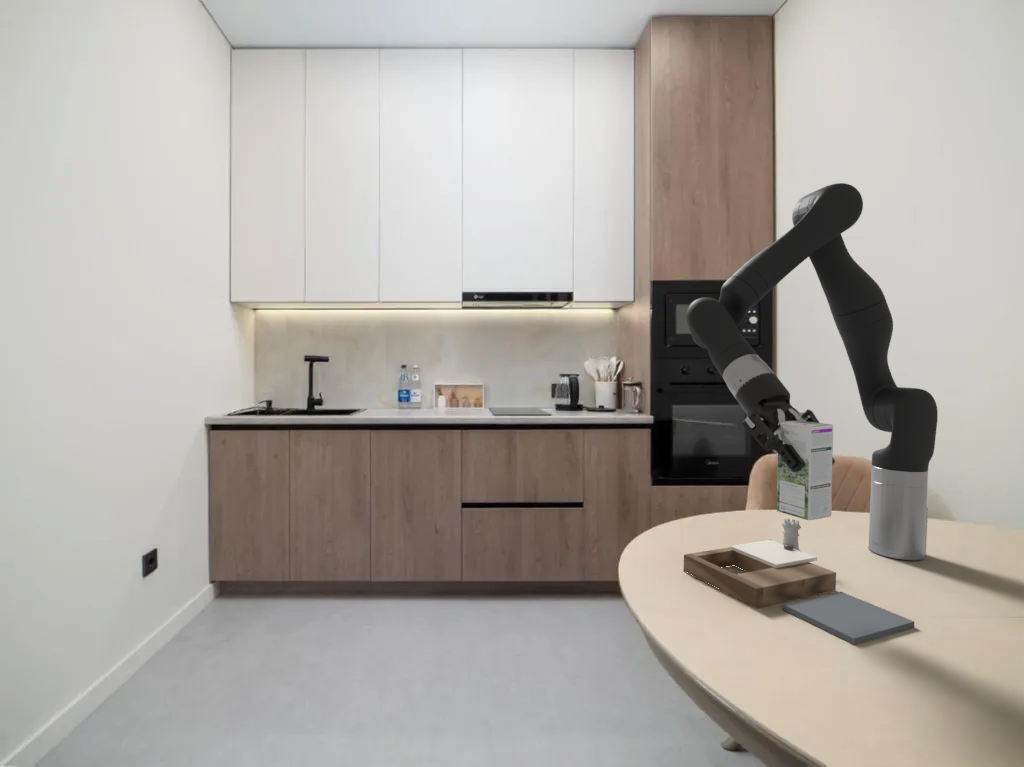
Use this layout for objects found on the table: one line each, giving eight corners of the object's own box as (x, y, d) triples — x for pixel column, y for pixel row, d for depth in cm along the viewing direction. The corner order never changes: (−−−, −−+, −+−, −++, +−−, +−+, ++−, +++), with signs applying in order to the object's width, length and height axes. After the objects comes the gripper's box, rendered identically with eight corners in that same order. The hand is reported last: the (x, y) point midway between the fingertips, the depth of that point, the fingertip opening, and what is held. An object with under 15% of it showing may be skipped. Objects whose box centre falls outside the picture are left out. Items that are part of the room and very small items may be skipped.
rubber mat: (840, 596, 88) (841, 591, 88) (914, 627, 78) (914, 621, 78) (783, 609, 83) (783, 604, 83) (853, 644, 73) (854, 638, 73)
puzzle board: (757, 558, 105) (757, 542, 105) (835, 590, 91) (836, 572, 90) (683, 571, 98) (684, 554, 98) (755, 608, 83) (756, 588, 83)
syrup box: (833, 516, 84) (835, 423, 84) (807, 521, 82) (809, 425, 81) (799, 507, 90) (802, 419, 89) (774, 511, 87) (776, 421, 86)
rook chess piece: (806, 568, 101) (808, 525, 100) (780, 565, 101) (782, 523, 101) (798, 559, 105) (800, 518, 105) (773, 557, 106) (775, 516, 105)
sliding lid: (769, 542, 105) (769, 536, 105) (817, 560, 96) (817, 553, 96) (730, 549, 101) (730, 542, 101) (776, 568, 92) (776, 561, 92)
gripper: (735, 371, 89) (796, 456, 78) (798, 371, 94) (864, 450, 84) (711, 401, 94) (765, 485, 83) (772, 399, 99) (831, 477, 89)
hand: (814, 467), depth 84 cm, fingers closed on syrup box, 6 cm apart
